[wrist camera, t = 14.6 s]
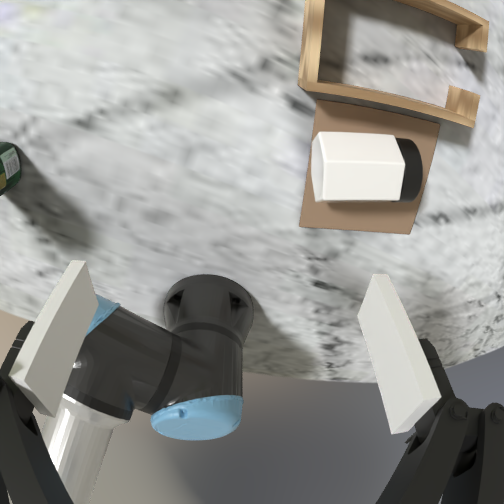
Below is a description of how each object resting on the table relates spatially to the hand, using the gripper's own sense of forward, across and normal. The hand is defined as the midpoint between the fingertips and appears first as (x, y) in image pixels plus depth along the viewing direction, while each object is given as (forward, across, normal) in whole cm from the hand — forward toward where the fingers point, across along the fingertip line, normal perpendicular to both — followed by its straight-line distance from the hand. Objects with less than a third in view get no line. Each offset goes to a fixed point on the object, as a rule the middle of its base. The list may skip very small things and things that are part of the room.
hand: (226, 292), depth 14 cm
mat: (+29, -18, +4) cm, 34 cm away
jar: (+24, -9, +3) cm, 26 cm away
